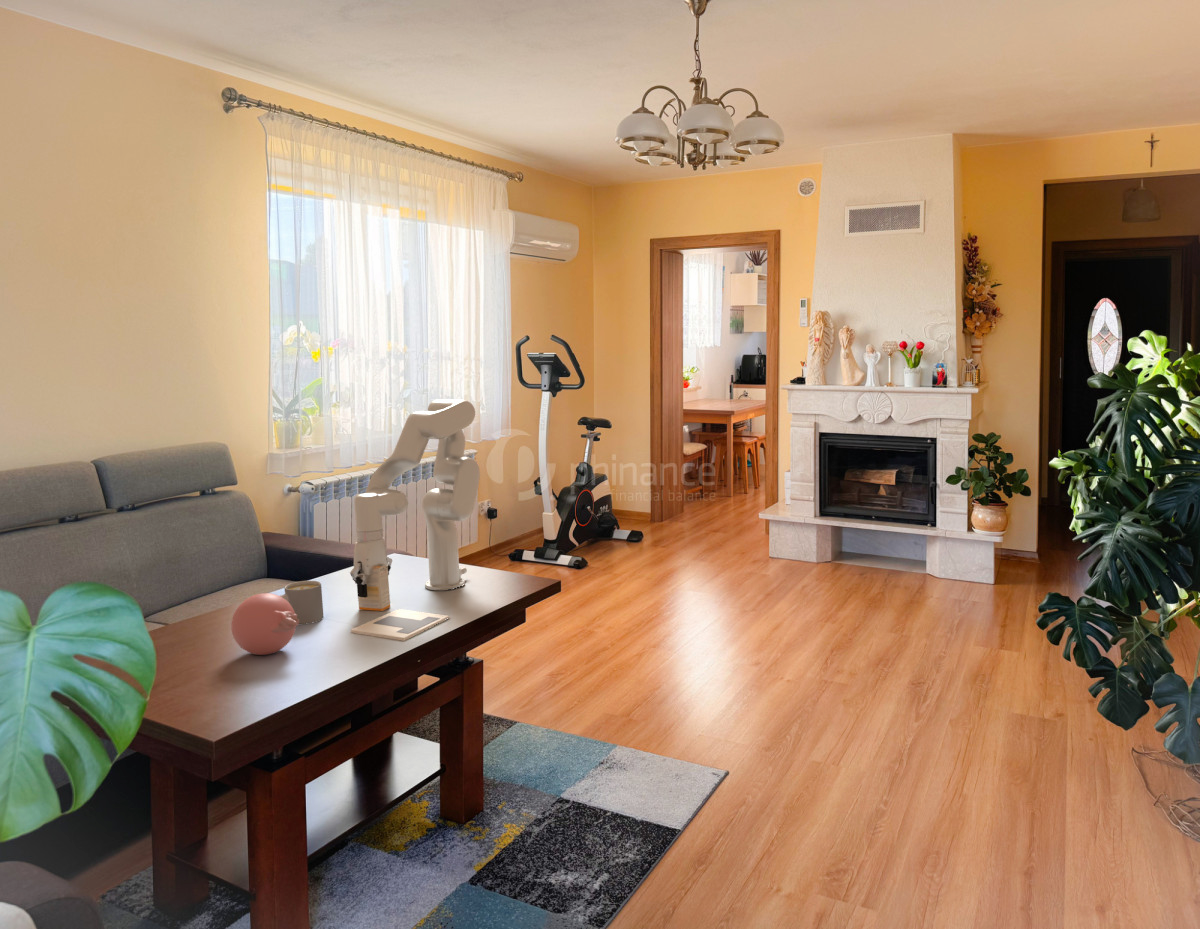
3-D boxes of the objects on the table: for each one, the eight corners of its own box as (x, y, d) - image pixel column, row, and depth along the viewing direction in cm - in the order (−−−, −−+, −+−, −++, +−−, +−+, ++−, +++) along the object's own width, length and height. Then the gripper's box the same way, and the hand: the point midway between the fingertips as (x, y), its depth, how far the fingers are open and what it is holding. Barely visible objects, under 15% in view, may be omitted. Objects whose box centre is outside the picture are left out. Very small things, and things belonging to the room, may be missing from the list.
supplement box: (391, 607, 258) (388, 564, 256) (382, 611, 253) (379, 568, 251) (367, 605, 260) (364, 562, 258) (358, 609, 256) (355, 566, 254)
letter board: (398, 611, 253) (398, 608, 253) (449, 618, 245) (449, 615, 245) (351, 632, 235) (350, 629, 235) (404, 640, 227) (403, 637, 227)
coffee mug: (320, 611, 255) (317, 578, 253) (326, 620, 246) (323, 586, 245) (272, 619, 249) (269, 585, 247) (276, 628, 240) (273, 593, 238)
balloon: (269, 671, 207) (264, 609, 205) (221, 656, 219) (216, 597, 217) (322, 652, 220) (318, 593, 218) (274, 639, 231) (269, 583, 229)
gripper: (379, 528, 263) (382, 584, 265) (339, 540, 248) (343, 599, 250) (399, 530, 260) (402, 586, 262) (359, 542, 244) (363, 602, 247)
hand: (373, 592), depth 256 cm, fingers open, 8 cm apart
